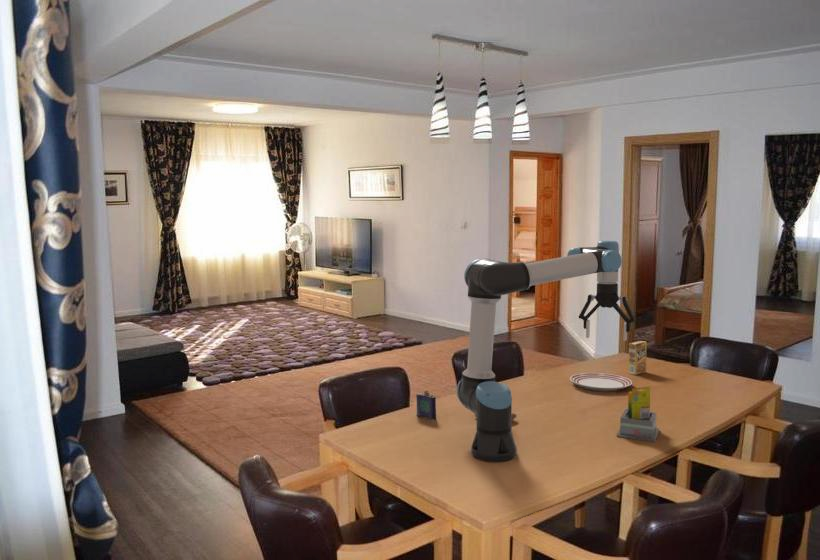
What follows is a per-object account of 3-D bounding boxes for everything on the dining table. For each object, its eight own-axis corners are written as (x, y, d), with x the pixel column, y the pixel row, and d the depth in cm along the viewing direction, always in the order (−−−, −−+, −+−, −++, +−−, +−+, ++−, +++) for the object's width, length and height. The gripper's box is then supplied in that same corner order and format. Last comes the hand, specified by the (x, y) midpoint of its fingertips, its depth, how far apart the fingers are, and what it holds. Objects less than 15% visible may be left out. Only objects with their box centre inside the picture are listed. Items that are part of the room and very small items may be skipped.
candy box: (635, 375, 313) (636, 344, 311) (627, 373, 316) (628, 342, 314) (646, 372, 318) (647, 341, 316) (638, 370, 321) (639, 340, 319)
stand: (655, 442, 226) (655, 423, 225) (616, 436, 232) (617, 418, 231) (659, 430, 237) (659, 412, 236) (622, 425, 243) (622, 407, 242)
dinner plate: (582, 375, 315) (582, 368, 314) (639, 383, 299) (640, 376, 298) (560, 388, 293) (560, 381, 292) (620, 398, 277) (620, 391, 276)
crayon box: (645, 415, 236) (646, 384, 235) (650, 418, 233) (651, 386, 232) (627, 417, 234) (628, 386, 233) (631, 420, 232) (632, 388, 230)
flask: (415, 415, 258) (415, 389, 257) (419, 413, 260) (419, 387, 259) (433, 420, 252) (433, 393, 251) (438, 418, 255) (438, 391, 253)
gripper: (644, 282, 237) (642, 339, 239) (575, 280, 248) (574, 334, 251) (641, 285, 230) (639, 343, 233) (571, 282, 242) (570, 338, 244)
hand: (606, 338), depth 242 cm, fingers open, 13 cm apart
